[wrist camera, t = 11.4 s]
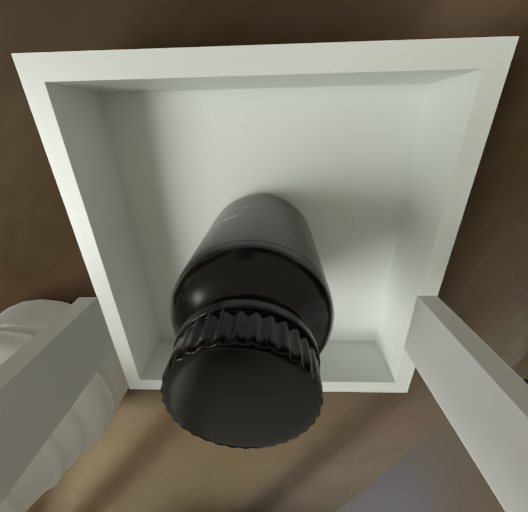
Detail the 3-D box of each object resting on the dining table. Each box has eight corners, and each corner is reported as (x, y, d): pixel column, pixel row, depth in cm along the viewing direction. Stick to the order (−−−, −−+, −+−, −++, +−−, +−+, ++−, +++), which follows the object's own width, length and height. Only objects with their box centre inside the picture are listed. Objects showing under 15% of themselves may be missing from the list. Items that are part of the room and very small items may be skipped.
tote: (381, 341, 23) (407, 392, 19) (156, 340, 24) (129, 389, 19) (443, 64, 15) (519, 36, 10) (87, 75, 15) (11, 53, 11)
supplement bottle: (219, 180, 17) (121, 277, 6) (323, 204, 17) (409, 335, 6) (205, 273, 20) (124, 451, 9) (294, 292, 20) (321, 482, 9)
